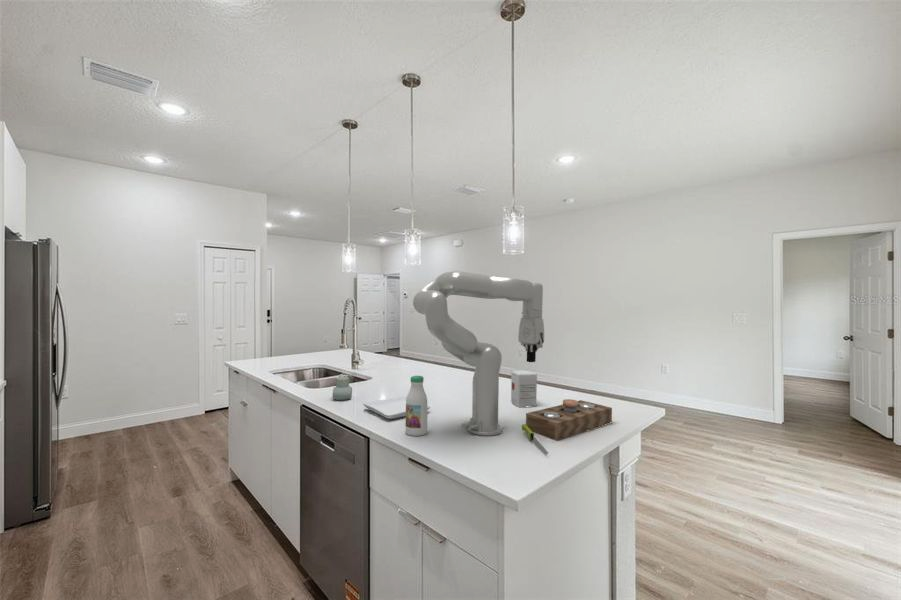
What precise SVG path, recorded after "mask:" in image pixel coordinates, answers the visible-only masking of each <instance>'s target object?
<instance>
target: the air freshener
mask: <svg viewBox="0 0 901 600" xmlns="http://www.w3.org/2000/svg"><path fill="white" fill-rule="evenodd" d="M335 379H336V380H335V383H336V384H335V387H333V389H332V398H333V399H334V400H336V401H348V400H350V399H351V398H352V396H353V387H352V386H351V385H350V378H349V377H348V376H339V377H337V378H335Z"/></svg>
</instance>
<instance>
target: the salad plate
mask: <svg viewBox="0 0 901 600" xmlns="http://www.w3.org/2000/svg"><path fill="white" fill-rule="evenodd" d="M406 399H407V396H406V397H405V396H399V397H393V398H386V399H380V400H375V401H369V402H363V406H364V407H365V408H366V409H368V410H369V411H371V412H373V413H375V414H377V415H379V416H381V417H384V418H386V419H388V420H395V419H400V418H406ZM430 408H431V405H428V404H427V411H429V409H430Z"/></svg>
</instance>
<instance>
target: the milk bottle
mask: <svg viewBox="0 0 901 600" xmlns="http://www.w3.org/2000/svg"><path fill="white" fill-rule="evenodd" d="M424 379H425V377H424V376H422V375H412V376H411V377H410V384H411V385H410V387H409V391H408V393H407V396H406V398H407V399H406V416H405V434H407V435H408V436H413V437H417V436H418V437H419V436H420V437H421V436H424V435H426V434H427V432H428V410H427V405H428V396H427V394H426V391H425V388H424Z"/></svg>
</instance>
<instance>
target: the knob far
mask: <svg viewBox="0 0 901 600" xmlns="http://www.w3.org/2000/svg"><path fill="white" fill-rule="evenodd" d="M580 407H583V408H587V409H592V408H595V405H594V404H590V403H580Z"/></svg>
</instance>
